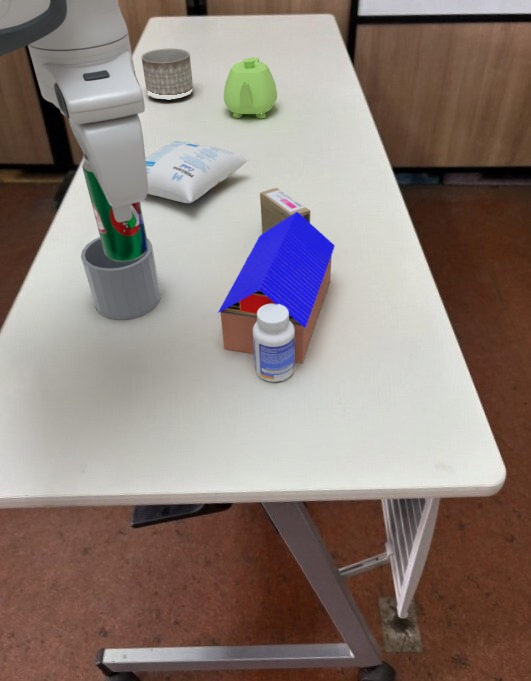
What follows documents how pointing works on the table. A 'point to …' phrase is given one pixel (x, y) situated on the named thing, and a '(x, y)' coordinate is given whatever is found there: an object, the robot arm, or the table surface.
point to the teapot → (250, 89)
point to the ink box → (279, 208)
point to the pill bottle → (274, 343)
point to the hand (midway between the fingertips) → (116, 205)
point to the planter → (167, 71)
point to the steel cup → (121, 282)
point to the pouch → (189, 170)
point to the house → (280, 283)
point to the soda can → (116, 224)
